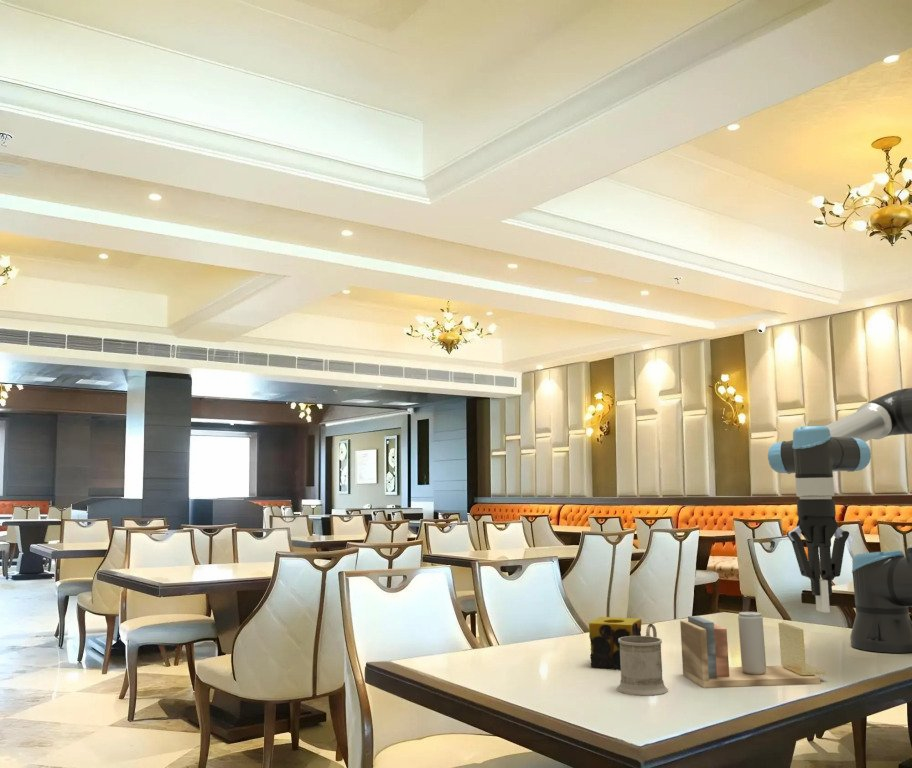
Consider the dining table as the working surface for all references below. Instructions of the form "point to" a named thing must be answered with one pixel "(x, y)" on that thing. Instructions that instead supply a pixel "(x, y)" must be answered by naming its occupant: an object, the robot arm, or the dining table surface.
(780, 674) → the shelf
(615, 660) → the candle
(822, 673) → the bookend
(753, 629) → the beverage can
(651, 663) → the mug
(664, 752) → the dining table surface
